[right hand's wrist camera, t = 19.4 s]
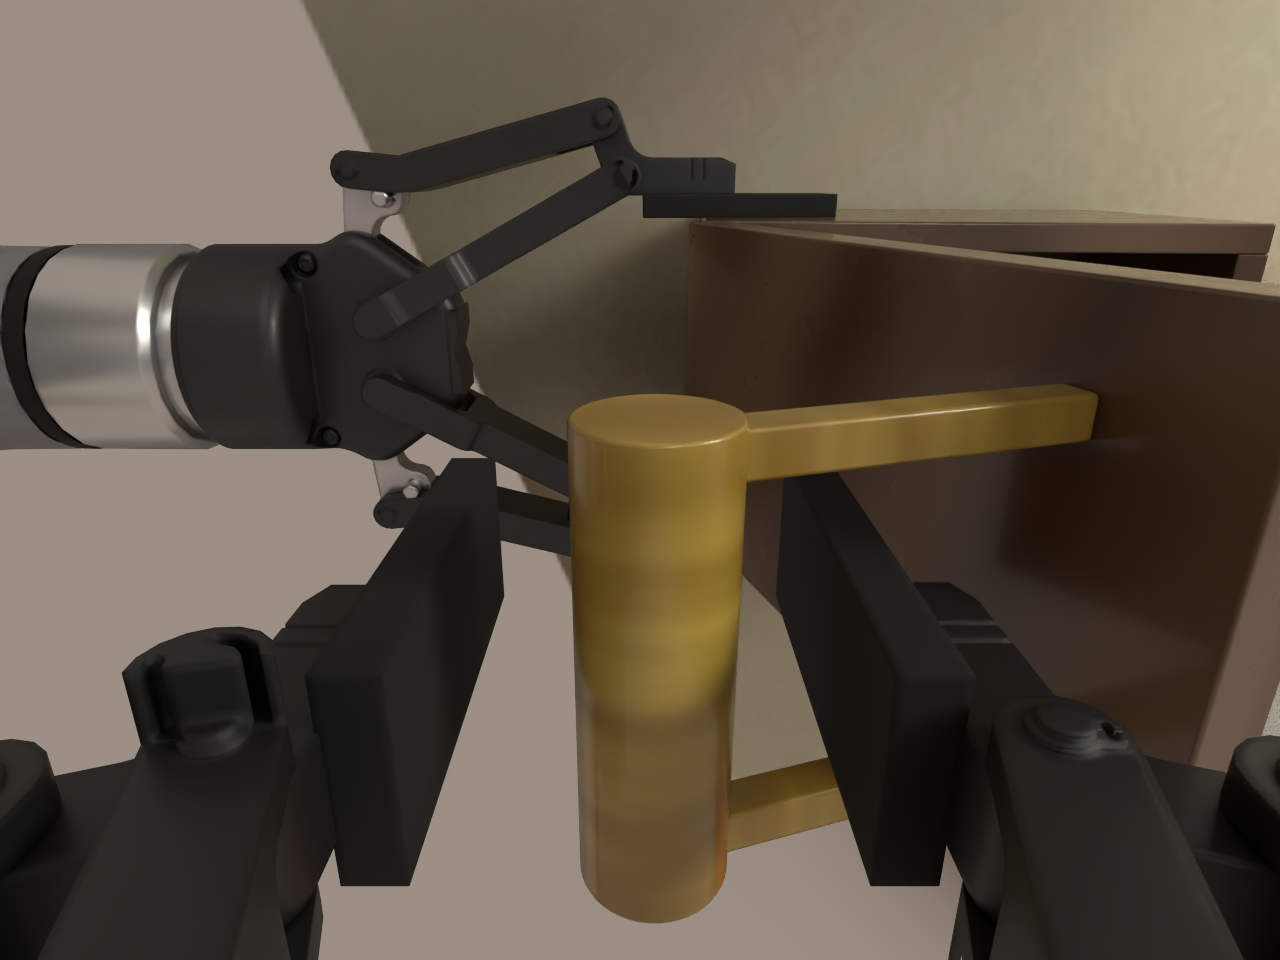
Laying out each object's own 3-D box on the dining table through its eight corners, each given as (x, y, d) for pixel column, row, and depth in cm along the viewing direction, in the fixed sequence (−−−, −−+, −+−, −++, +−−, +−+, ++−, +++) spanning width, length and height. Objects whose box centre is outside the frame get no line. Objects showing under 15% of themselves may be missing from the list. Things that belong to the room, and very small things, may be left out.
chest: (1097, 210, 34) (1277, 223, 24) (1056, 423, 37) (1198, 517, 27) (701, 208, 35) (706, 220, 25) (695, 416, 38) (697, 505, 28)
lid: (1411, 298, 8) (654, 345, 6) (1192, 948, 12) (646, 1157, 9) (725, 221, 24) (436, 225, 22) (714, 510, 27) (462, 543, 25)
